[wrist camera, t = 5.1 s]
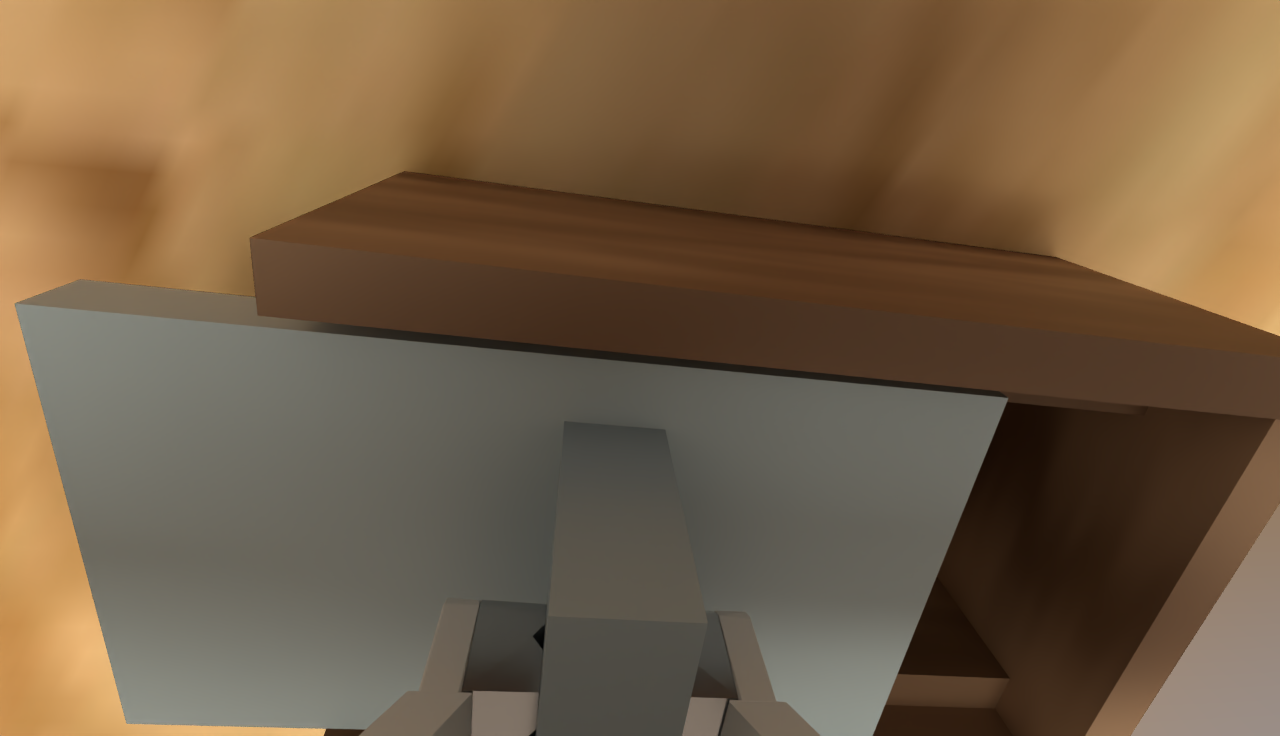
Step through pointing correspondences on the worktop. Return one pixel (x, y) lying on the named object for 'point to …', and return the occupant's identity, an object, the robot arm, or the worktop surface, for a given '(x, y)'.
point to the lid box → (891, 350)
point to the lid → (481, 511)
